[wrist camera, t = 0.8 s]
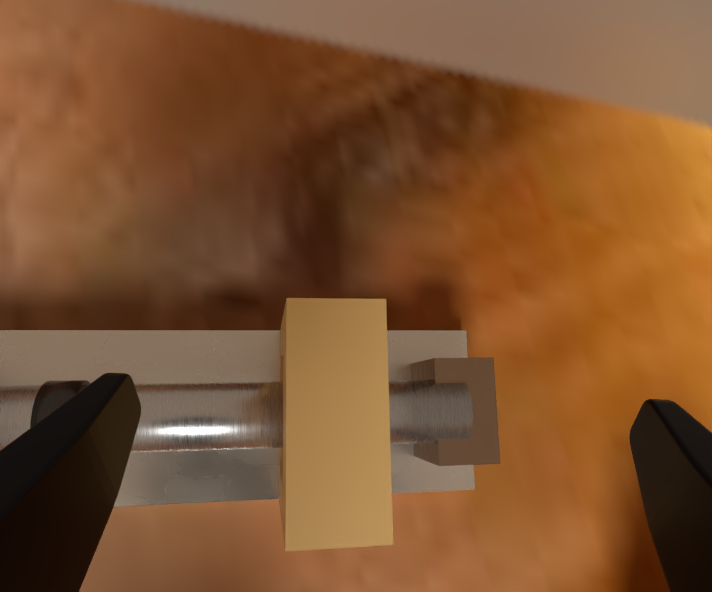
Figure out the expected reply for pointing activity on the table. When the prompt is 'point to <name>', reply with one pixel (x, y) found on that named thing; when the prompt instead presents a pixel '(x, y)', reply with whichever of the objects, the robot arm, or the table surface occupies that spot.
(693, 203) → the table surface
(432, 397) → the grey piece
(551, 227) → the table surface
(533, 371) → the table surface
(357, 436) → the tan wooden block
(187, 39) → the table surface
